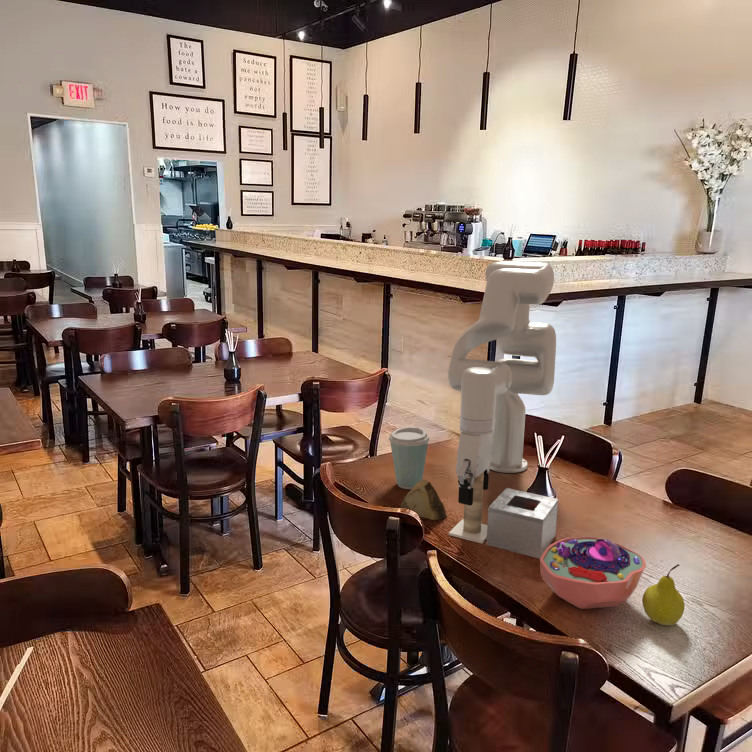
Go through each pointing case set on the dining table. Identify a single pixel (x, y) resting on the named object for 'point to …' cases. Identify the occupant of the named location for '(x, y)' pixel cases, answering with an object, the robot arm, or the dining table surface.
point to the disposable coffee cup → (409, 455)
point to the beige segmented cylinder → (474, 507)
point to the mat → (477, 537)
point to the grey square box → (522, 522)
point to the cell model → (591, 571)
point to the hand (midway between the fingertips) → (473, 496)
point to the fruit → (663, 601)
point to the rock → (424, 501)
